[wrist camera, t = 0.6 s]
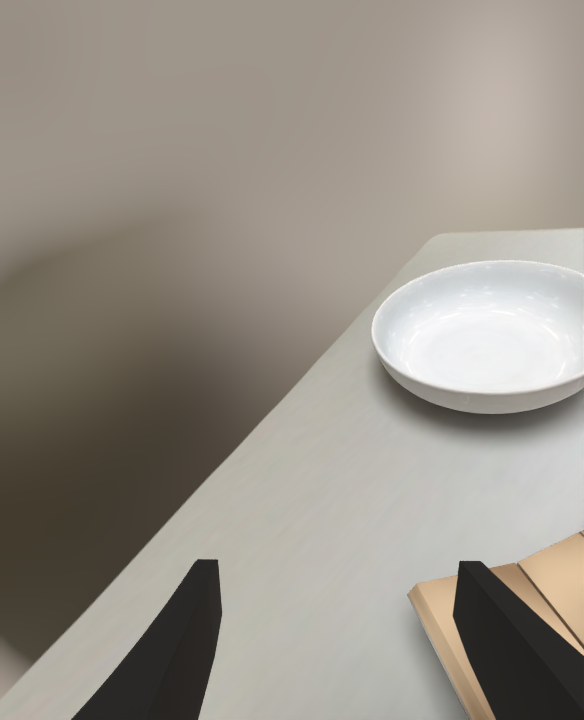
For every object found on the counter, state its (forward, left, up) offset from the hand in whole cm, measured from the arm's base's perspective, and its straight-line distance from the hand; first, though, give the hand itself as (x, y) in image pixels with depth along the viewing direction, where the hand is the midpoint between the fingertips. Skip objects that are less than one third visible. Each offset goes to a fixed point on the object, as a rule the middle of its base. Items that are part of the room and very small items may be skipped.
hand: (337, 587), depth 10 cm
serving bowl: (+19, -21, -17) cm, 33 cm away
